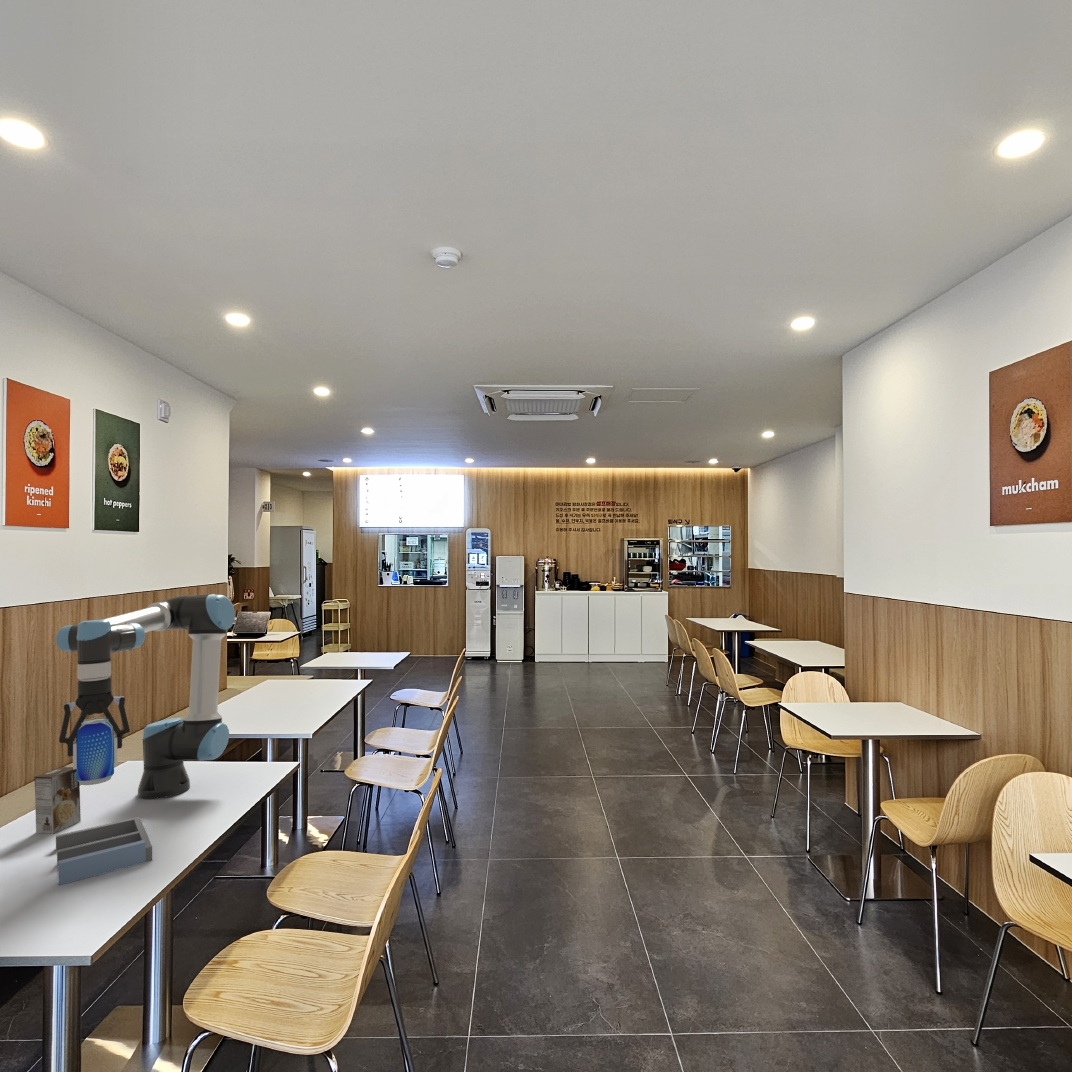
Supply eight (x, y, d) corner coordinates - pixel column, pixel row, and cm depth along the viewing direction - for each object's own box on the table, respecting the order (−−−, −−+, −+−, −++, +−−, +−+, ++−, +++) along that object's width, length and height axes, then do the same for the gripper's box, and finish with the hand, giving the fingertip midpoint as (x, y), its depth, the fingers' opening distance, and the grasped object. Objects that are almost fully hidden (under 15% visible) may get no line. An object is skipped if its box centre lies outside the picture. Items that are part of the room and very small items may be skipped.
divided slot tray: (139, 828, 193) (139, 811, 193) (152, 860, 172) (152, 840, 172) (55, 848, 181) (55, 829, 181) (58, 885, 160) (58, 863, 160)
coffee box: (63, 820, 202) (62, 766, 202) (81, 821, 200) (80, 766, 201) (34, 833, 193) (33, 776, 193) (53, 834, 191) (52, 777, 192)
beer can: (73, 788, 174) (73, 725, 174) (79, 779, 181) (78, 719, 182) (112, 782, 177) (111, 721, 178) (115, 773, 185) (115, 715, 185)
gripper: (138, 671, 189) (139, 753, 189) (45, 681, 177) (46, 769, 176) (141, 675, 183) (142, 759, 182) (45, 685, 171) (46, 776, 170)
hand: (95, 764), depth 179 cm, fingers closed on beer can, 8 cm apart
